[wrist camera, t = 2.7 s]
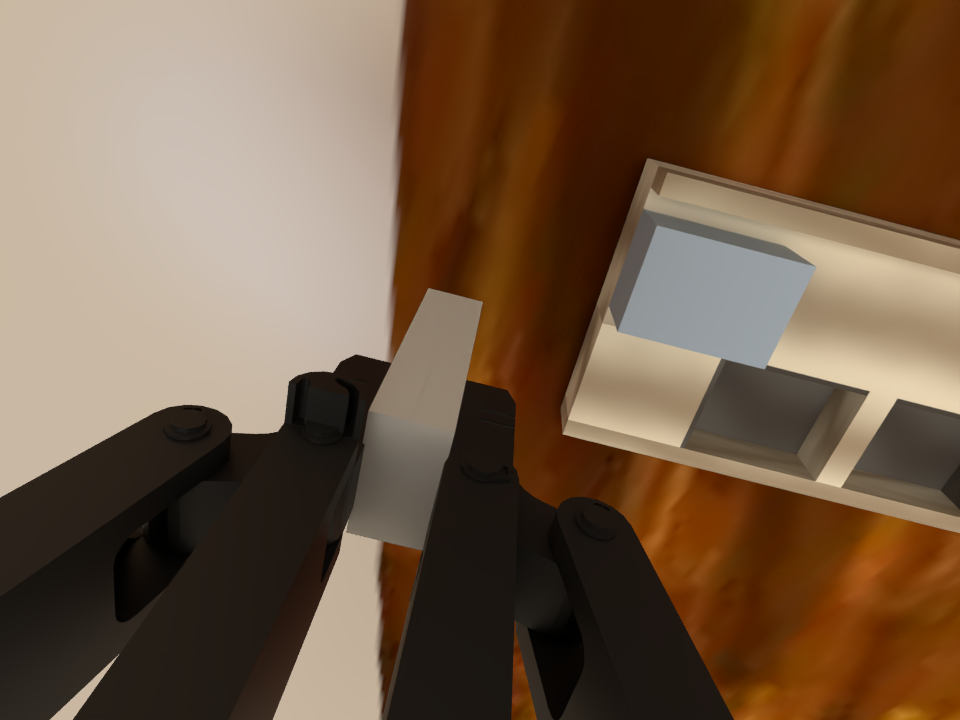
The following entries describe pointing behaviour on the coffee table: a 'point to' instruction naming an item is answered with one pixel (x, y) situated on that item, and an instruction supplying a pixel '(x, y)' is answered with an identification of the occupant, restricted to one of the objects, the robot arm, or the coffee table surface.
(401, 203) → the coffee table surface
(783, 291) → the block
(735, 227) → the box
